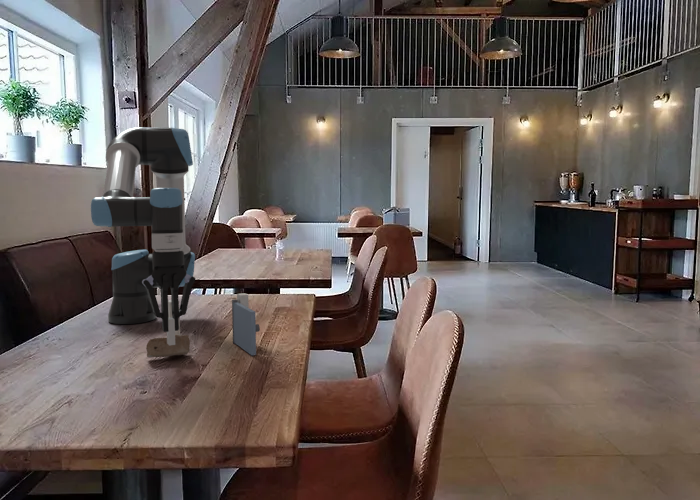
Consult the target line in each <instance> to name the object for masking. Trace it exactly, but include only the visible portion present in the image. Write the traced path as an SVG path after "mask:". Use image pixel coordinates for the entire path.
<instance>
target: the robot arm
mask: <svg viewBox="0 0 700 500" xmlns="http://www.w3.org/2000/svg"><path fill="white" fill-rule="evenodd" d="M191 149H192V148H191V142H190V136H189V132H188V130H186V129H184V128H179V127H178V128H177V127H145V126H143V127H141V126H136V127H131V128H128V129H126V130H122V132H120V133H118V134H117V135H116V136H115V137H114V138H113V139H112V140H111V141H110V142H109V144H108V146H107V148H106V153H105V159H106V161H107V167H106V168H107V170H106V173H105V179H104V180H105V181H104V185H103V191H102V196H98V197H97V196H96V197H93V198H92V199H91V202H90V216H91V221H92V224H93V225H94V226H96V227H108V228H112V227H151V249H152V250H154V251H153V252H152V253H149V251H148V249H137V250H130V251H124V252H120V253H116V254H114V255H113V256H112V258H111V269H110V270H111V278H112V280H111V281H112V300H111V303H110V307H109V311H108V313H107V319H108V322H109V323H111V324H116V325H133V324H141V323H146V322H151V321H153V320H156V319H157V318H159V319H161V329H162V331H163V333H166V338H167V344H168V345H169V346H170V345H175V331H178V330H179V317H180V318H181V316H186V315H187V312H188V311H187V310H188V307H189V306H188V304H189V300H190V296H191V292H192V291H191V290H192V287H193V285H194V283H195V282H196V279H197V278H196V277H195V276H194V272H195V263H196V254H195V253H194V252H192V251H191V247H190V246H189V245H187V243H186V241H187V240H186V215H185V214H186V211H185V210H186V209H185V208H186V207H185V206H186V205H185V204H186V203H185V175H186V174H188V172H189V167H192V166H193V165H194V163H193V162H194V161H193V156H192V150H191ZM142 165H143V166H150V172H151V173H153V174H154V175H155V181H156V187H155V188H152V189H151V190H150V192H149V193H150V195H149V196H147V197H146V196H144V197H143V196H139V197H138V196H134V191H135V190H134V189H135V182H136V181H135V179H136V171H137V170H136V169H137V167H138V166H142ZM180 287H183V291H182V294H181V300H180V299H179V289H180ZM155 288H156V289H157V288H159V291H160V306H159V302H158V300H157V297H156V296H157V295H156V293H155V290H154V289H155ZM169 288H170V295H171V296H170V297H171V298H170V300H171V304H172V317H170V318H168V317H169V315H168V300H169ZM179 300H180V301H179ZM160 310H161V311H160Z"/></svg>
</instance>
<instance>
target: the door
mask: <svg viewBox="0 0 700 500" xmlns="http://www.w3.org/2000/svg"><path fill="white" fill-rule="evenodd" d="M248 307H249V306H248ZM248 307H246V306H244V305H242V304H240V303H238V300H237V298H235V299H231V313H232V314H231V316H232V318H231V319H232V320H231V321H232V323H231V324H232V344H233V345H237V346H238V347H239V348H241V349H242V350H244V351H245V352H246V353H248V354H249V355H250V356H256V355H257V335H256V334H257V333H258V332H260V331H261V330H260V328H261V327H260V324H258V323H257V322H256V321H257V320H256V311H255V310H253V309H251V308H250V307H249V308H248ZM256 323H257V324H256Z"/></svg>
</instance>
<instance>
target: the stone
mask: <svg viewBox="0 0 700 500" xmlns="http://www.w3.org/2000/svg"><path fill="white" fill-rule="evenodd" d="M190 341H191V339H190V337H189V335H188V334H180V335H175V345H170V346H169V345H168V344H167V337H153V338H151V339H149V341H148V342H147V344H146V347H145V348H146V358H166V357H171V356H182V355H188V354H189V353H190V351H191V350H190V347H191V342H190Z"/></svg>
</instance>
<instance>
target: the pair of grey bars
mask: <svg viewBox="0 0 700 500" xmlns="http://www.w3.org/2000/svg"><path fill="white" fill-rule="evenodd" d="M236 299H237V300H238V303H240V304H242V305H244V306H246V307H248V308H249V309H250V307H249V294H248V293H243V292H242V293H236ZM168 315H169V317H168V318H170V317H172V304H171V299H168ZM180 320H181V316H180V317H179V330H178V331H175V335H181V324H180V323H181V321H180Z"/></svg>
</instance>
